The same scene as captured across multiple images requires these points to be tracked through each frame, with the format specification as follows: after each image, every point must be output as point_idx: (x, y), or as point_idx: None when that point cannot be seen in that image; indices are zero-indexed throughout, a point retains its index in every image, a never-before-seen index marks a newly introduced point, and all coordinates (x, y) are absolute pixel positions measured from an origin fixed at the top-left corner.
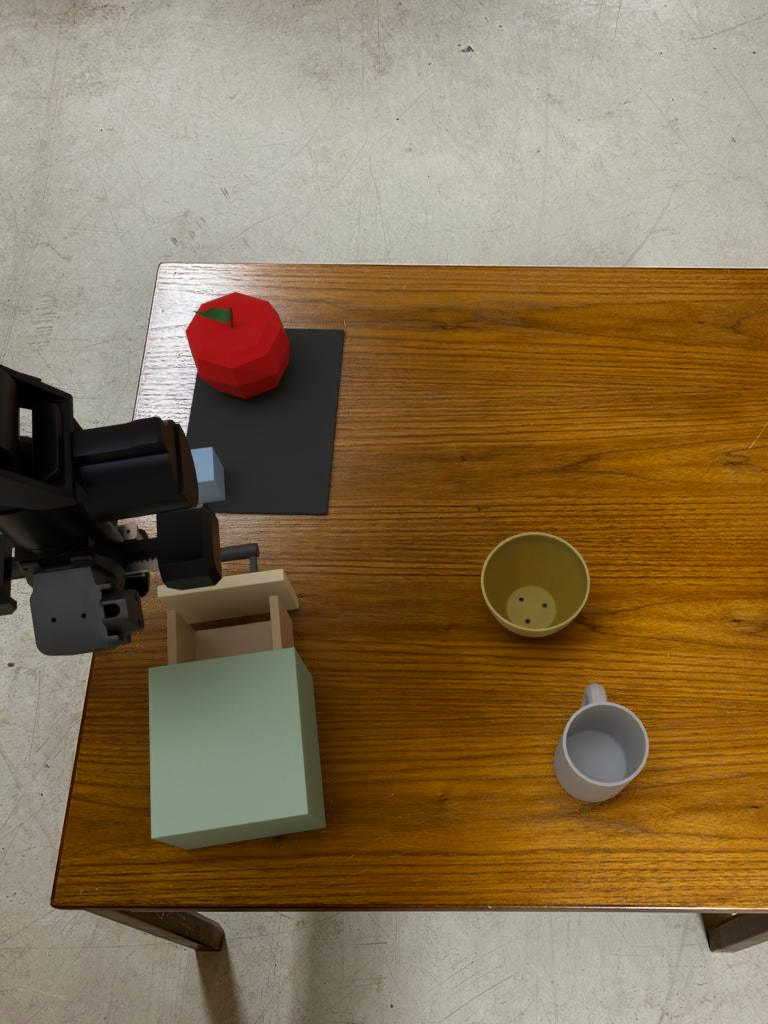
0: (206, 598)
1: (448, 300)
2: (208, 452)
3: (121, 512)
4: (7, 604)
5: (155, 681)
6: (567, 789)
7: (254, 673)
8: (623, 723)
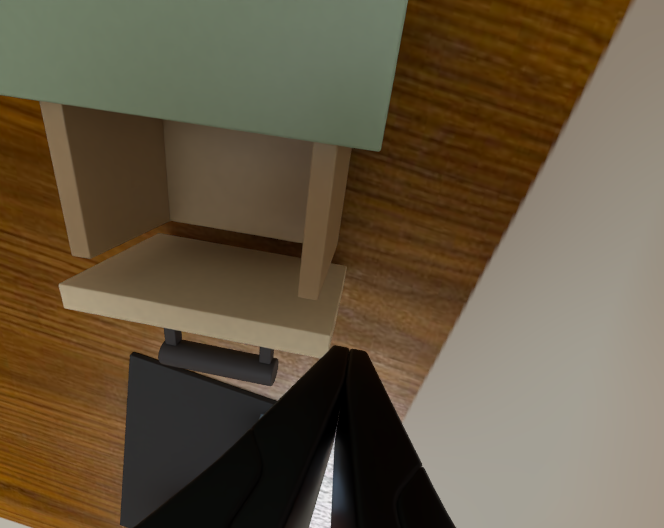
0: (247, 297)
1: (21, 509)
2: None
3: None
4: None
5: (366, 93)
6: None
7: (58, 26)
8: None
